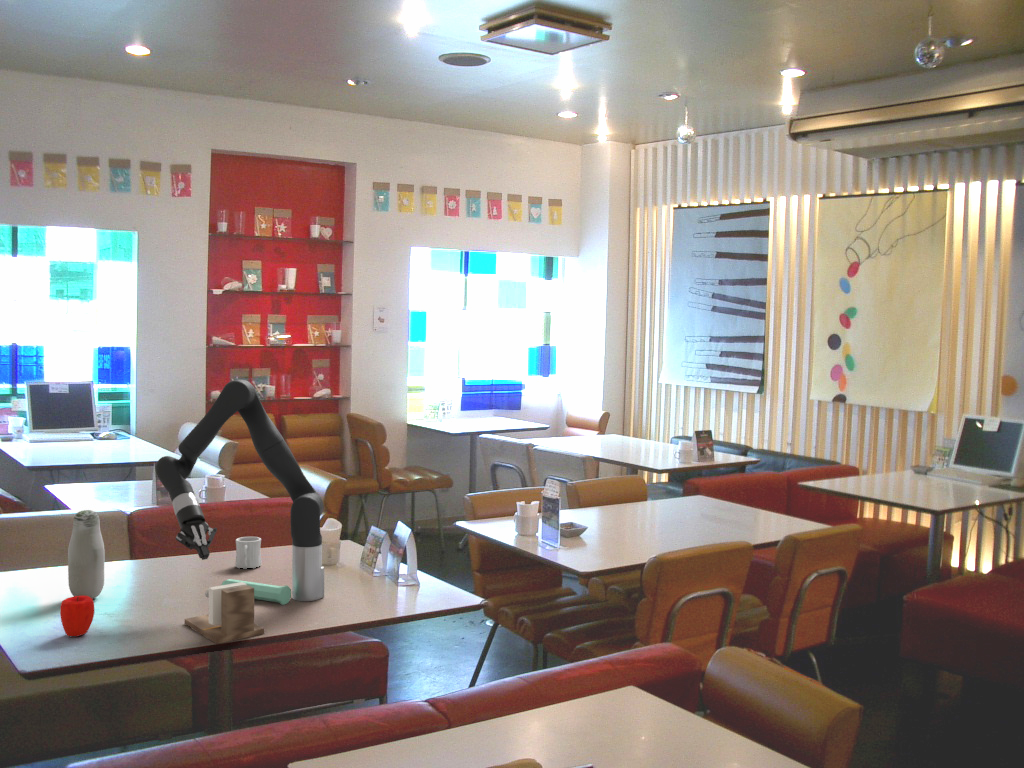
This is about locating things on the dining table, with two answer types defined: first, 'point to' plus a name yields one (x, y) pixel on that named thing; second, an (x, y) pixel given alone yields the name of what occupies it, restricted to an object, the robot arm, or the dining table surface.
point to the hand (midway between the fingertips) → (205, 557)
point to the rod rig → (230, 617)
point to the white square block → (218, 601)
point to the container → (266, 591)
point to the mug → (248, 552)
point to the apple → (77, 614)
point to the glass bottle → (86, 556)
